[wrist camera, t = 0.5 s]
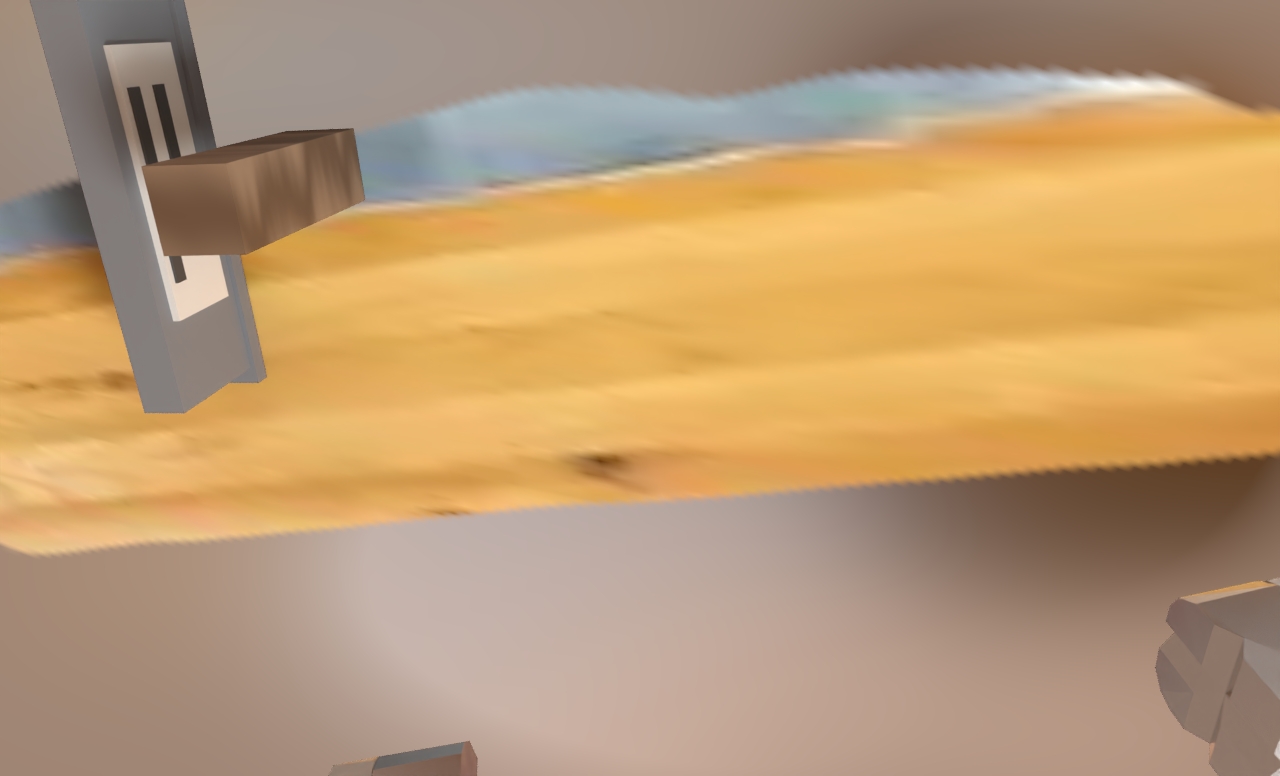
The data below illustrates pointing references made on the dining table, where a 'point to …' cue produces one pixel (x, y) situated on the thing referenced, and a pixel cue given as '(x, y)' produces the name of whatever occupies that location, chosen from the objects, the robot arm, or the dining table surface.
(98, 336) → the dining table surface
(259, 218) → the walnut block
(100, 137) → the label stand
